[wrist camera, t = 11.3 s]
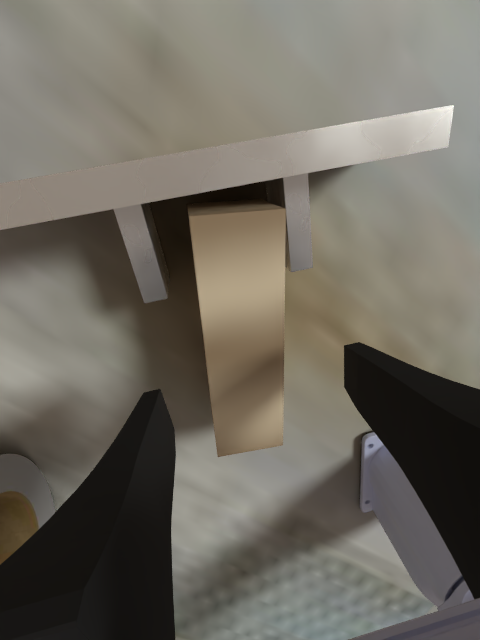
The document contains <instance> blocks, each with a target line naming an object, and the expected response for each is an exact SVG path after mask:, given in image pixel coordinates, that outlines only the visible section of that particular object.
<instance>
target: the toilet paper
mask: <svg viewBox="0 0 480 640" xmlns="http://www.w3.org/2000/svg"><path fill="white" fill-rule="evenodd" d="M54 513H55V509H54V503H53V498H52V495H51V491H50V488H49V486H48V483H47V481H46V479H45V477H44V476H43V474H42V473H41V471H40V470H39V468H38V467H37V466H36V465H35V464H34V463H33V462H32V461H31V460H29V459H28V458H26V457H24V456H21V455H17V454H3V455H0V564H2V563H3V562H4V561H5V560H6V559H7V558H8V557H10V556H11V555H12V554H13V553H14V552H15V551H16V550H17V549H18V548H19V547H21V546H22V545H23V544H24V543H25V542H26V541H27V540H28V539H29V538H30V537H31V536H32V535H33V534H34V533H35V532H36V531H37V530H39V529H40V528H41V527H42V526H43V525H44V524H45V523H46V522H47V521H48V520H49V519H50V518H51V517H52V516H53V514H54Z"/></svg>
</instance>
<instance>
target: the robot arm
mask: <svg viewBox="0 0 480 640" xmlns="http://www.w3.org/2000/svg"><path fill="white" fill-rule="evenodd" d="M344 387H345V389H346V391H347V393H348V394H349V396H350V398H351V400H352V402H353V403H354V405H355V407H356V408H357V410H358V411H359V413H360V414H361V415H362V417H363V418H364V419H365V421H366V422H367V423H368V425H369V426H370V427H371V429H372V430H373V431H374V432H372V433H368V434H366V435H364V437H363V438H362V455H361V485H360V509H361V511H362V512H369V511H374V513H375V515H376V516H377V518H378V520H379V522H380V523H381V525H382V527H383V529H384V530H385V532H386V534H387V536H388V538H389V539H390V541H391V543H392V545H393V546H394V548H395V550H396V552H397V553H398V555H399V557H400V559H401V560H402V562H403V564H404V566H405V567H406V569H407V571H408V573H409V575H410V576H411V578H412V580H413V581H414V583H415V584H416V586H417V587H418V589H419V590H420V591H421V592H422V593H423V595H424V596H425V597H426V598H427V599H429V600H430V601H431V602H432V603H433V604H434V605H436V606H437V607H438V608H437V609H438V611H437V612H434V613H431V614H427V615H424V616H421V617H418V618H415V619H412V620H408V621H405V622H402V623H399V624H396V625H393V626H389V627H386V628H383V629H380V630H377V631H374V632H371V633H367V634H364V635H361V636H358V637H355V638H352V639H348V640H480V389H476V388H473V387H470V386H467V385H464V384H460V383H457V382H454V381H451V380H448V379H445V378H443V377H440V376H437V375H435V374H432V373H429V372H427V371H424V370H422V369H419V368H417V367H414V366H412V365H410V364H407V363H405V362H403V361H401V360H398V359H396V358H394V357H392V356H389V355H387V354H385V353H383V352H381V351H378V350H376V349H374V348H372V347H370V346H367V345H365V344H362V343H360V342H358V343H353V344H349V345H345V346H344ZM175 457H176V451H175V433H174V427H173V424H172V421H171V418H170V415H169V412H168V410H167V407H166V404H165V401H164V398H163V395H162V392H161V390H160V389H158V390H153V391H149V392H145V393H143V395H142V396H141V398H140V400H139V401H138V403H137V405H136V406H135V408H134V410H133V411H132V413H131V415H130V416H129V418H128V420H127V421H126V423H125V425H124V426H123V428H122V429H121V431H120V432H119V434H118V436H117V437H116V439H115V440H114V442H113V443H112V444H111V446H110V447H109V449H108V450H107V452H106V453H105V454H104V456H103V457H102V459H101V460H100V461H99V463H98V464H97V465H96V467H95V468H94V469H93V471H92V472H91V473H90V474H89V476H88V477H87V478H86V479H85V480H84V482H83V483H82V484H81V485H80V486H79V487H78V489H77V490H76V491H75V492H74V493H73V494H72V495H71V496H70V497H69V498H68V500H67V501H66V502H65V503H64V504H63V505H62V506H61V507H60V508H59V509H58V510H57V511H56V512H55V513H54V514H53V516H52V517H51V518H50V519H49V520H48V521H47V522H46V523H45V524H44V525H43V526H42V527H41V528H40V529H39V530H37V531H36V532H35V533H34V534H33V535H32V536H31V537H30V538H29V539H28V540H27V541H26V542H25V543H24V544H23V545H22V546H21V547H19V548H18V549H17V550H16V551H15V552H14V553H13V554H12V555H11V556H10V557H8V558H7V559H6V560H5V561H4V562H3V563H2V564H0V640H175V625H174V605H173V582H172V550H171V516H172V501H173V487H174V473H175Z"/></svg>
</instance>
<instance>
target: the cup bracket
mask: <svg viewBox="0 0 480 640" xmlns="http://www.w3.org/2000/svg"><path fill="white" fill-rule="evenodd" d="M453 108H454V105H451V106H445V107H440V108H434V109H428V110H422V111H417V112H411V113H405V114H399V115H393V116H388V117H382V118H376V119H370V120H365V121H359V122H353V123H347V124H341V125H336V126H330V127H324V128H318V129H313V130H307V131H301V132H295V133H289V134H284V135H278V136H272V137H266V138H261V139H255V140H249V141H243V142H237V143H232V144H226V145H220V146H214V147H209V148H203V149H197V150H191V151H185V152H180V153H174V154H168V155H162V156H157V157H151V158H145V159H139V160H133V161H128V162H122V163H116V164H110V165H105V166H99V167H93V168H87V169H81V170H76V171H70V172H64V173H58V174H53V175H47V176H41V177H35V178H29V179H24V180H18V181H12V182H6V183H1V184H0V230H3V229H8V228H14V227H19V226H25V225H30V224H35V223H41V222H46V221H52V220H57V219H62V218H68V217H73V216H79V215H84V214H89V213H95V212H100V211H106V210H111V209H114V212H115V215H116V218H117V222H118V225H119V228H120V231H121V234H122V237H123V240H124V243H125V246H126V249H127V252H128V255H129V258H130V261H131V264H132V267H133V270H134V273H135V276H136V279H137V282H138V285H139V288H140V291H141V295H142V298H143V301H144V303H149V302H153V301H158V300H163V299H167V298H168V290H169V279H170V276H169V272H168V269H167V265H166V262H165V258H164V254H163V251H162V247H161V243H160V240H159V236H158V233H157V229H156V225H155V222H154V218H153V214H152V211H151V207H150V203H149V202H154V201H160V200H165V199H170V198H176V197H181V196H187V195H192V194H197V193H203V192H208V191H214V190H219V189H224V188H230V187H235V186H241V185H246V184H251V183H257V182H262V181H265V186H266V196H267V202H269V203H272V204H274V205H277V206H280V207H282V208H285V209H286V234H285V267H286V268H287V269H288V270H289V271H291V272H294V271H299V270H304V269H309V268H313V262H312V242H311V223H310V203H309V183H308V173H311V172H316V171H322V170H327V169H332V168H338V167H343V166H349V165H354V164H359V163H365V162H370V161H375V160H381V159H386V158H392V157H397V156H402V155H408V154H413V153H419V152H424V151H429V150H435V149H440V148H446V147H448V146H449V138H450V130H451V123H452V115H453Z"/></svg>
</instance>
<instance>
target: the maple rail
mask: <svg viewBox="0 0 480 640" xmlns="http://www.w3.org/2000/svg"><path fill="white" fill-rule="evenodd" d="M187 210H188V218H189V227H190V235H191V243H192V252H193V260H194V268H195V276H196V285H197V293H198V301H199V310H200V318H201V326H202V334H203V343H204V351H205V359H206V368H207V376H208V384H209V392H210V401H211V408H212V416H213V424H214V431H215V439H216V447H217V454H218V457H220V456H226V455H231V454H237V453H243V452H248V451H254V450H259V449H265V448H270V447H276V446H281V445H283V395H284V315H285V234H286V209H285V208H282V207H280V206H277V205H274V204H272V203H269V202H266V201H263V200H261V199H252V200H238V201H225V202H211V203H197V204H187Z"/></svg>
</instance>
